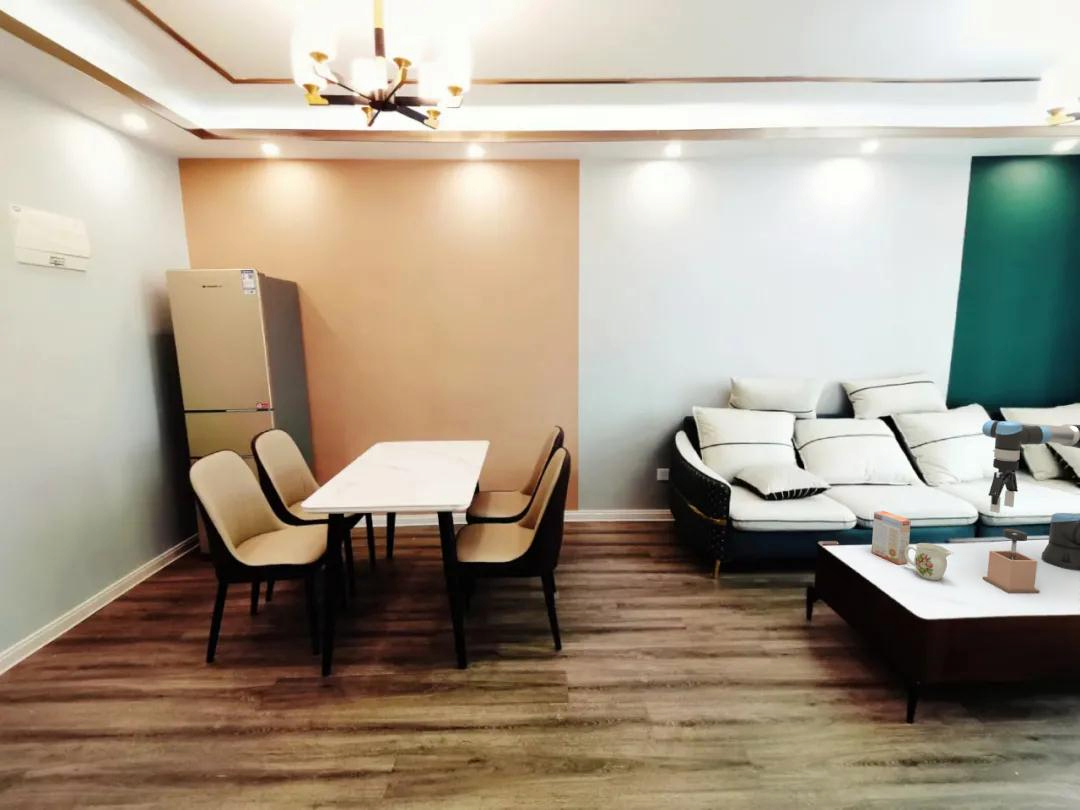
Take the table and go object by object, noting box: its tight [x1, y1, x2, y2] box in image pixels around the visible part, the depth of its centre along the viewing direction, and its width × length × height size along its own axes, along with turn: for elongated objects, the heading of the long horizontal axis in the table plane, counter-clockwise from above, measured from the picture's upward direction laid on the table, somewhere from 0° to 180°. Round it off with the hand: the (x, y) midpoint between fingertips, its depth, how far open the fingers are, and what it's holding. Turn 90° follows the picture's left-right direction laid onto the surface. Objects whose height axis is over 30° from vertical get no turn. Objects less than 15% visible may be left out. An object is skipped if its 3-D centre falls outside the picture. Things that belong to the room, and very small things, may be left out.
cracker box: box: [871, 510, 912, 565], centre depth 228 cm, size 14×6×21 cm, turn 12°
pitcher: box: [905, 542, 955, 581], centre depth 210 cm, size 11×18×14 cm, turn 25°
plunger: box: [1002, 528, 1028, 560], centre depth 199 cm, size 8×8×15 cm
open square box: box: [982, 550, 1040, 594], centre depth 200 cm, size 12×12×13 cm
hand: (1001, 509), depth 202 cm, fingers open, 13 cm apart
